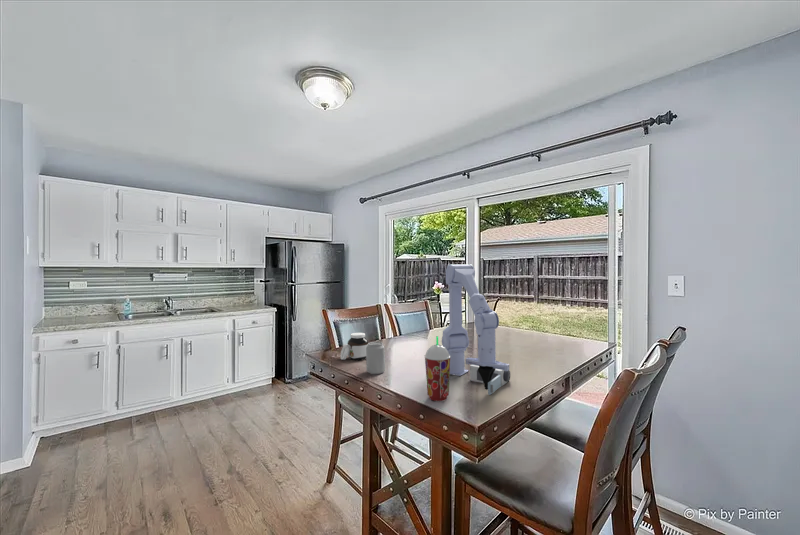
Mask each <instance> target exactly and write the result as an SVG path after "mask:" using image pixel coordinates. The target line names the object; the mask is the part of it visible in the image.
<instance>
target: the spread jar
mask: <svg viewBox="0 0 800 535" xmlns="http://www.w3.org/2000/svg"><path fill="white" fill-rule="evenodd" d="M368 343H369V341H368V339H367V338H366V333H364V332H352V333H350V338H349V339H348V341H347V344H344V345H343V346H342V348H341V350H340V360H343V361H345V360H346V359H347V358H349V359H350V360H352V361H356V360H358V361H364V360H366V347H367V346H368Z"/></svg>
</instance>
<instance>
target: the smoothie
mask: <svg viewBox="0 0 800 535" xmlns="http://www.w3.org/2000/svg"><path fill="white" fill-rule="evenodd" d="M435 341H436V342H435V344H434V345H431V346H430V347H428V348H427V350H426V353H425V355H424V364H425V378H426V390H427V396H428V397H429V400H430V401H434V402H444V401H446V400H448V399H447V398H448V396H449V392H450V376H451V374H450V358H451V356H450V355H449V353H448V351H447V349H446V348H445V347H444V346H442V344H439V335H438V336H436V338H435Z"/></svg>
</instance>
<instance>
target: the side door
mask: <svg viewBox="0 0 800 535" xmlns="http://www.w3.org/2000/svg"><path fill="white" fill-rule="evenodd" d="M501 386H502V379H501V375H500V374H499V375H498V376H496V377H495V378H494V379H492V380H491V381H490V382H488V389H487V394H488V395H490V396H491V395H492V394H493V393H495V392H496V391H497V390H498V389H500V388H501ZM502 387H503V386H502Z"/></svg>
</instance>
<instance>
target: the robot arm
mask: <svg viewBox="0 0 800 535" xmlns="http://www.w3.org/2000/svg"><path fill="white" fill-rule="evenodd" d="M475 276H476V270H475V267H474V265H473V264H471V263H469V264H466V263H465V264H452V263H450V264H448V265H447V267H446V269H445V284H446V286H447V285H448V294H449V295H448V303H449V305H448V306H449V311H448V312H449V314H448V315H449V316H448V317H449V325H448V326H447V327H445V329H443V330H442V337H441V345H442V346H444V347H445V348H446V349H447V351H448V353H449V355H450V356H451V358H450V375H452V376H457V377H461V376H464V375H465V374H466V373H468V372H470V369H467V368H465V367H466V366H465V365H477V366H479V368H478V372H479V373H480V375H481V377H482V380H483V383H482V384H483V385H484V386H483V387H484V390H485V391H488V382H490V381H491V378H492V375H493V373H494V371H495V369H500V370H504V371H510V363H506V362H502V361H498V360H496V358H497V357H496V351H497V350H496V346H497V345H496V330H497V329H498V328H499V324H500V318H499V315H498V313H497V312H496V311H494V310H493V309H491V307H490V305H489V304H488V301H487V300H486V297H485V295H483V294H482V293H480V291H479V288H478V286H477V283H476V280H475ZM462 288H464V289H465V291H466V293H467V295H468V296H469V300H468V303H469V307H470V308H471V311H472V313H473V315H474V320H473V322H474V326H475V331H476V335H477V357H466V356H465V355H466V354H465V351H467V348H469V346H470V338H469V333H468V330H467V329H466V328H464V326H463V306H462V305H463V304H462V301H463V296H462V290H463V289H462ZM465 357H466V358H465Z"/></svg>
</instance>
